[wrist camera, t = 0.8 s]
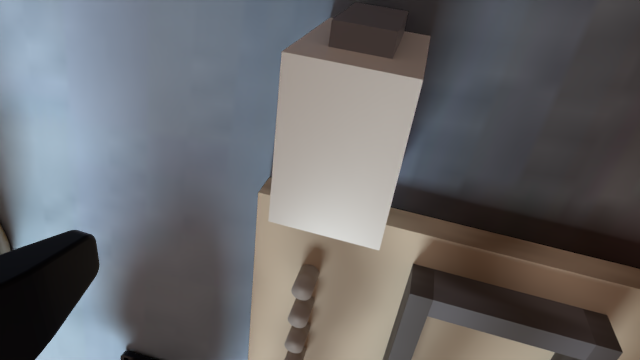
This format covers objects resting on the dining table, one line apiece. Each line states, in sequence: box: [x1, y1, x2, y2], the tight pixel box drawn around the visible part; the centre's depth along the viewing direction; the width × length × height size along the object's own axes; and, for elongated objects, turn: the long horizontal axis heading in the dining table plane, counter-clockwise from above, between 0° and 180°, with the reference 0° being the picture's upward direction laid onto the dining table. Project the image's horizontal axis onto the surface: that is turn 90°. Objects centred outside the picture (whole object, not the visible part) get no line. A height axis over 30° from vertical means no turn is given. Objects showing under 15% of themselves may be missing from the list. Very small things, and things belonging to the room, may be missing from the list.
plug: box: [268, 2, 431, 250], centre depth 16 cm, size 4×7×6 cm, turn 172°
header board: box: [248, 177, 640, 360], centre depth 22 cm, size 20×14×4 cm
